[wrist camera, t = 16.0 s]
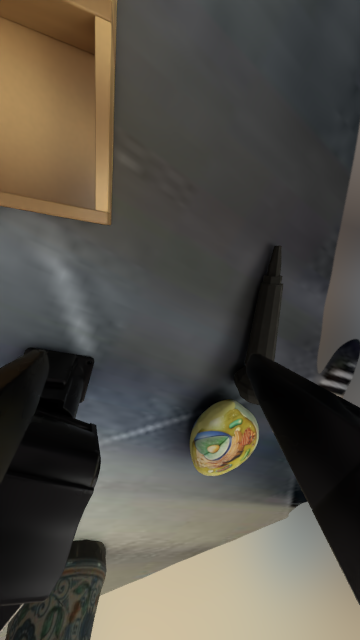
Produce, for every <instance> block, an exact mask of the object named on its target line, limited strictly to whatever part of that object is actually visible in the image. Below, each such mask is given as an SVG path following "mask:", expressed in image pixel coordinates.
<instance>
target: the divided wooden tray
mask: <svg viewBox="0 0 360 640" xmlns="http://www.w3.org/2000/svg"><path fill="white" fill-rule="evenodd" d="M116 15H117V0H0V206H4V207H9V208H15V209H20V210H26V211H32V212H37V213H43V214H48V215H54V216H59V217H65V218H70V219H76V220H82V221H87V222H93V223H98V224H104V225H111V207H112V169H113V130H114V92H115V53H116Z"/></svg>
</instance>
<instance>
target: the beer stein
mask: <svg viewBox="0 0 360 640" xmlns="http://www.w3.org/2000/svg"><path fill="white" fill-rule="evenodd" d="M105 555H106V549H105V547H104V545H103V543H102V542H96V541H90V540H82V541H73V542H72V546H71V549H70V552H69V556H68V559H67V562H66V566H65V569H64V572H63V573H62V575H61V577H60V579H59V580H58V582H57V584H56V585H55V587H54V588H53V590H52V592H51V593H50V595H49V596H48V598H47V599H46V600H45V601H43V602H36V603H26V604H24V605H23V606H22V607H21V608H20V610H19V611H18V612H17V613H16V615H15V616H14V617H13V618H12V619H11V621H10V622H9V623H8V629H7V634H6V639H5V640H90V637H91V632H92V627H93V622H94V617H95V613H96V609H97V604H98V600H99V596H100V592H101V589H102V586H103V583H104V580H105V576H106V558H105Z"/></svg>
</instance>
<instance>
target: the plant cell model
mask: <svg viewBox="0 0 360 640" xmlns="http://www.w3.org/2000/svg"><path fill="white" fill-rule="evenodd" d="M258 438H259V433H258V424H257V421H256V419H255V417H254V416H253V415H252V413H251V412H250V411H248V410H247V409H245V408H244V407H243V406H242V405H241V404H239V403H238V402H236V401H235V400H231V399H228V400H223V401H220V402H217V403H215V404H213V405H212V406H211V407H209V408H208V409H207V410H206V411H205V412H203V413H202V414H201V415H200V416H199V418H198V419H197V420H196V422H195V424H194V426H193V429H192V432H191V437H190V453H191V457H192V461H193V464H194V466H195V468H196V469H197V470H198V471H199V472H200V473H202V474H204V475H208V476H216V475H221V474H224V473H226V472H228V471H230V470H232V469H234V468H236V467H237V466H239V465H240V464H242V463H243V462H244V461H245V460H246V459H247V458H248V457H249V456H250V455H251V453H252V452H253V450H254V449H255V447H256V445H257V443H258Z"/></svg>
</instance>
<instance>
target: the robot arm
mask: <svg viewBox="0 0 360 640" xmlns="http://www.w3.org/2000/svg"><path fill="white" fill-rule="evenodd" d="M87 361H90V362H91V363H89V362H87ZM93 365H94V359H93V358H91V357H86V356H80V355H74V354H69V353H63V352H56V351H50V350H42V349H36V348H28V349H27V350H26V351H25V353H24V355H23V356H21V357H19V358H18V359H16V360H14V361H12V362H10V363H8V364H6V365H5V366H3V367H1V368H0V633H1V632H2V631H3V629H4V628H5V627H6V626H7V624H8V623H9V622H10V621H11V619H12V618H13V617H14V616H15V615H16V613H17V612H18V611H19V610H20V608H21V607H22V606H23V605H24V604H26V603H36V602H43V601H45V600H46V599H47V598H48V596H49V595H50V593H51V592H52V590H53V588H54V587H55V585H56V584H57V582H58V580H59V579H60V577H61V575H62V573H63V572H64V569H65V566H66V562H67V559H68V556H69V552H70V549H71V546H72V542H73V539H74V536H75V533H76V530H77V527H78V524H79V522H80V519H81V517H82V514H83V512H84V509H85V507H86V505H87V504H88V502H89V500H90V498H91V496H92V494H93V491H94V487H95V484H96V481H97V478H98V475H99V471H100V464H101V457H100V450H99V443H98V436H97V429H96V425H95V424H92V423H90V424H88V423H85V422H83V421H80V420H77V419H75V418H76V414H77V410H78V406H79V403H81V402H83V401H84V397H85V394H86V390H87V386H88V383H89V379H90V376H91V372H92V368H93ZM246 372H247V375H248V377H249V380H250V383H251V385H252V388H253V390H254V393H255V396H256V398H257V400H258V402H259V404H260V406H261V408H262V410H263V412H264V414H265V416H266V418H267V420H268V422H269V425H270V427H271V429H272V431H273V433H274V435H275V437H276V439H277V441H278V443H279V445H280V447H281V449H282V451H283V453H284V455H285V457H286V459H287V461H288V463H289V465H290V467H291V469H292V471H293V473H294V475H295V477H296V479H297V481H298V483H299V485H300V487H301V489H302V491H303V493H304V495H305V497H306V499H307V501H308V503H309V505H310V507H311V508H312V511H313V513H314V515H315V517H316V519H317V521H318V523H319V525H320V527H321V529H322V531H323V533H324V535H325V537H326V539H327V541H328V543H329V545H330V547H331V550H332V552H333V554H334V556H335V558H336V560H337V562H338V563H339V566H340V567H341V570H342V572H343V573H344V576H345V578H346V580H347V582H348V584H349V585H350V588H351V590H352V592H353V594H354V596H355V598H356V600H357V601H358V603H359V605H360V408H359V407H358V406H356V405H354V404H352V403H350V402H348V401H346V400H344V399H343V398H341V397H339V396H336V395H335V394H333V393H331V392H330V391H328V390H326V389H324V388H322V387H320V386H319V385H317V384H315V383H313V382H311V381H309V380H308V379H306V378H304V377H302V376H300V375H298V374H296V373H295V372H293V371H291V370H289V369H287V368H285V367H284V366H282V365H280V364H278V363H276V362H274V361H273V360H271V359H269V358H267V357H265V356H263V355H262V354H258V353H253V354H251V355H250V357H249V360H248V362H247V365H246Z"/></svg>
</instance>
